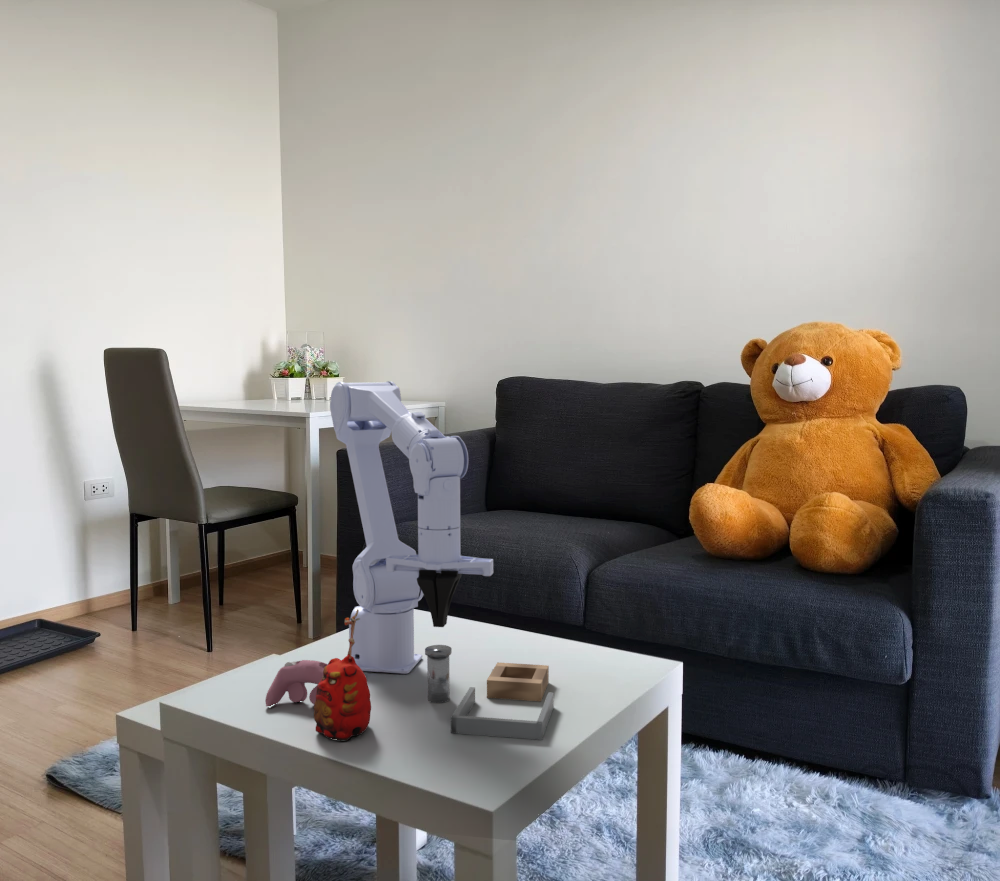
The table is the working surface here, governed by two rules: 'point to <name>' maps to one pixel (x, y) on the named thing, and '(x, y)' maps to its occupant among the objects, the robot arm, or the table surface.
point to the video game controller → (295, 681)
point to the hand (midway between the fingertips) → (440, 625)
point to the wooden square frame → (518, 681)
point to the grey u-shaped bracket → (499, 721)
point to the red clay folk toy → (343, 696)
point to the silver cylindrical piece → (438, 673)
